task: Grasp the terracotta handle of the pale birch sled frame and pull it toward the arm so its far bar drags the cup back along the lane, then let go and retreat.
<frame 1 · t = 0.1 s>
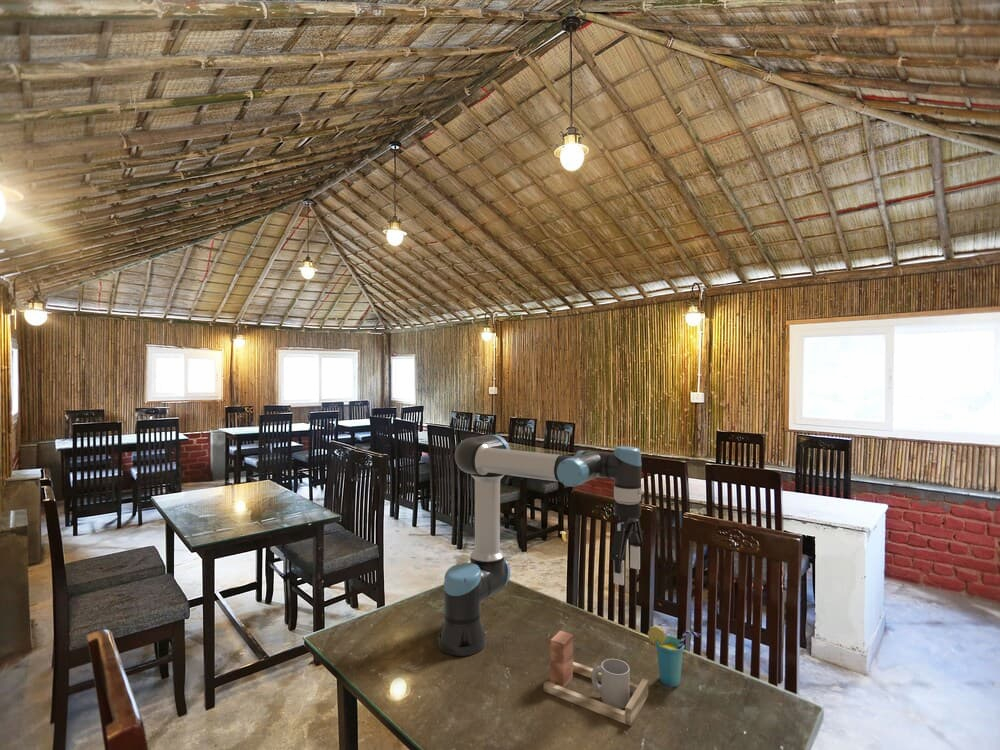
hand: (627, 575, 140), 28 cm above the table, fingers open, 13 cm apart
cup 2: (673, 682, 136), on the table
sled: (595, 670, 131), point 6 cm above the table, slide at 0.0 cm
cup: (610, 700, 128), resting in sled
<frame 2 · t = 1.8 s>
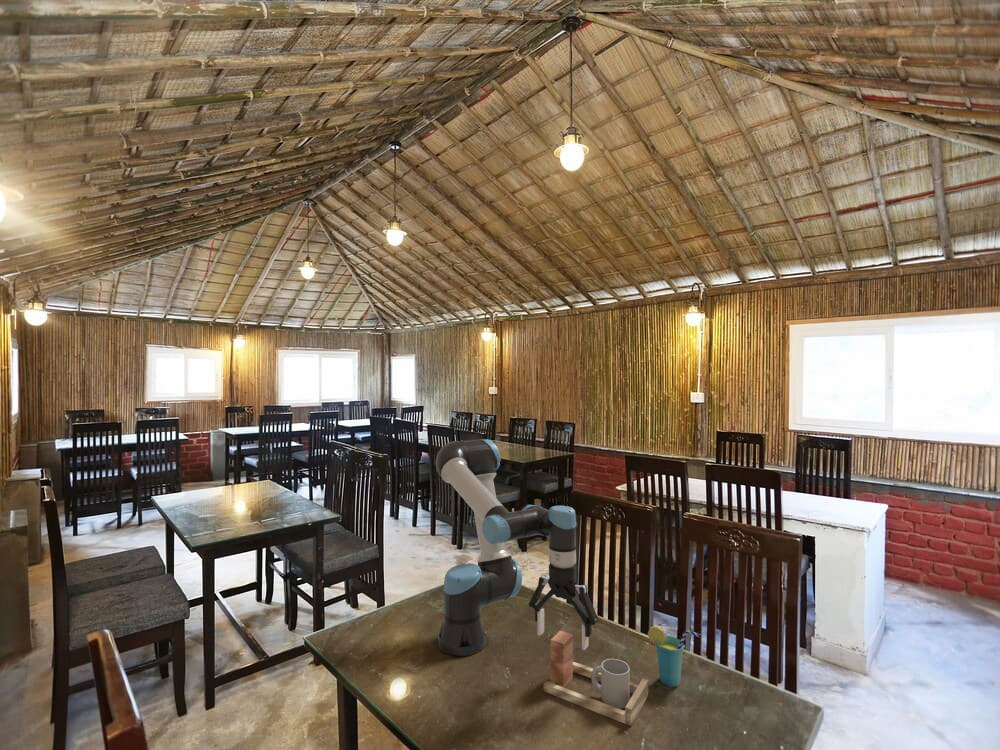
hand: (562, 640, 136), 11 cm above the table, fingers open, 13 cm apart
nothing on the table moved.
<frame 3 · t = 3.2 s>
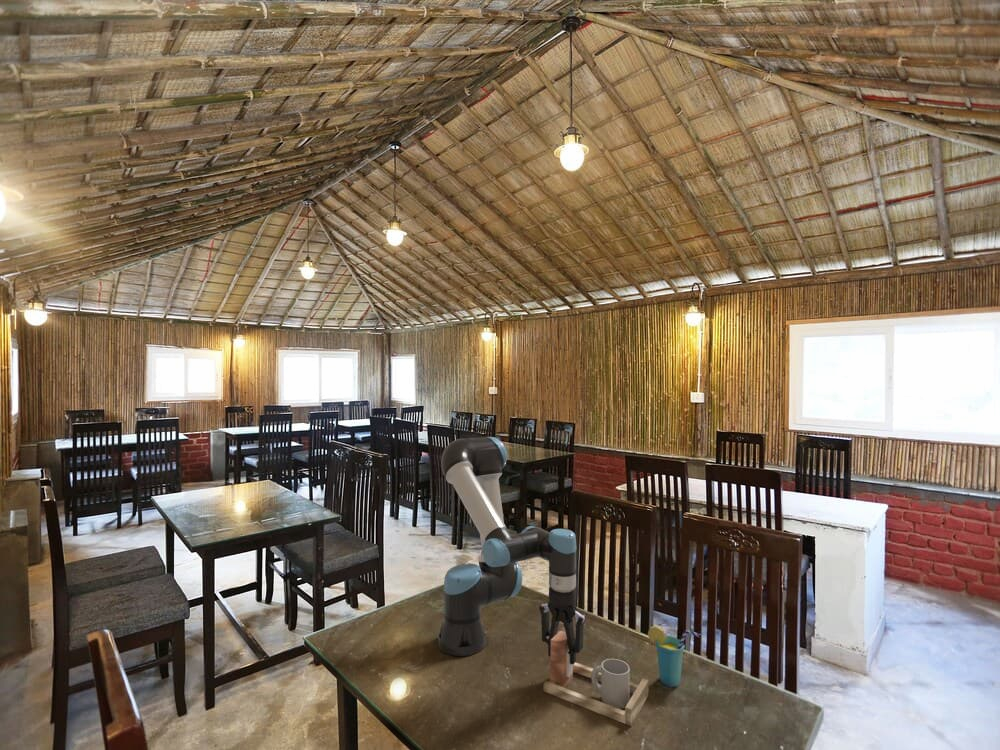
hand: (561, 671, 136), 3 cm above the table, fingers closed on sled, 4 cm apart
sled: (595, 670, 131), point 6 cm above the table, slide at 0.0 cm, touching gripper
everything else where it was.
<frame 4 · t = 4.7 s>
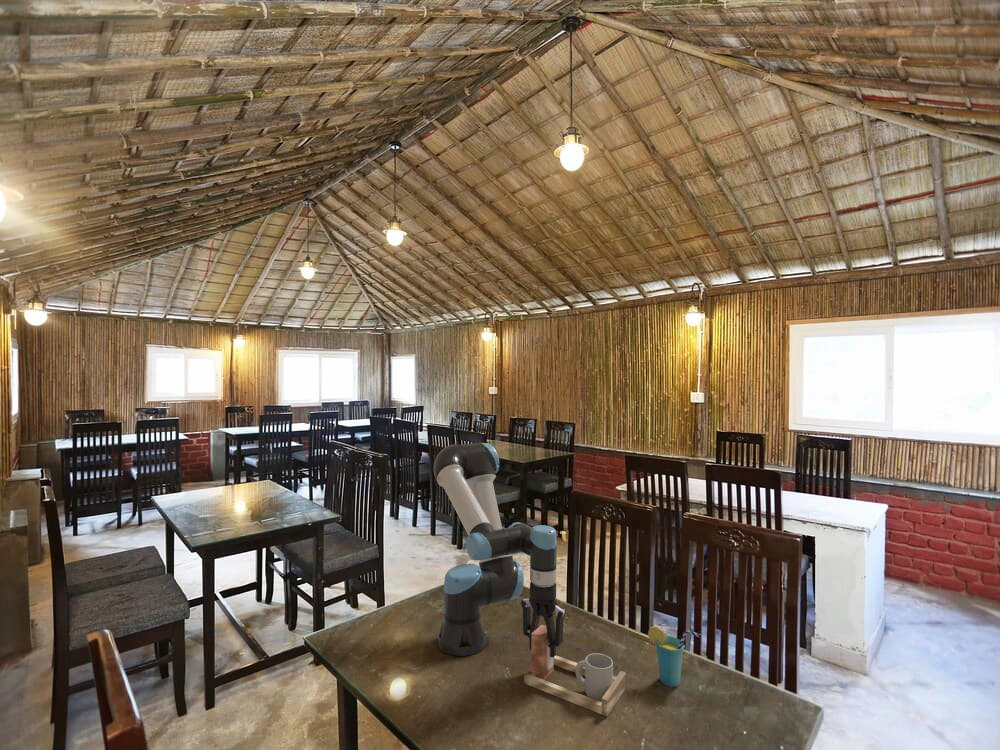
hand: (542, 664, 139), 3 cm above the table, fingers closed on sled, 4 cm apart
sled: (574, 663, 134), point 6 cm above the table, slide at 6.1 cm, touching cup, gripper
cup: (593, 693, 131), resting in sled
everything else where it was.
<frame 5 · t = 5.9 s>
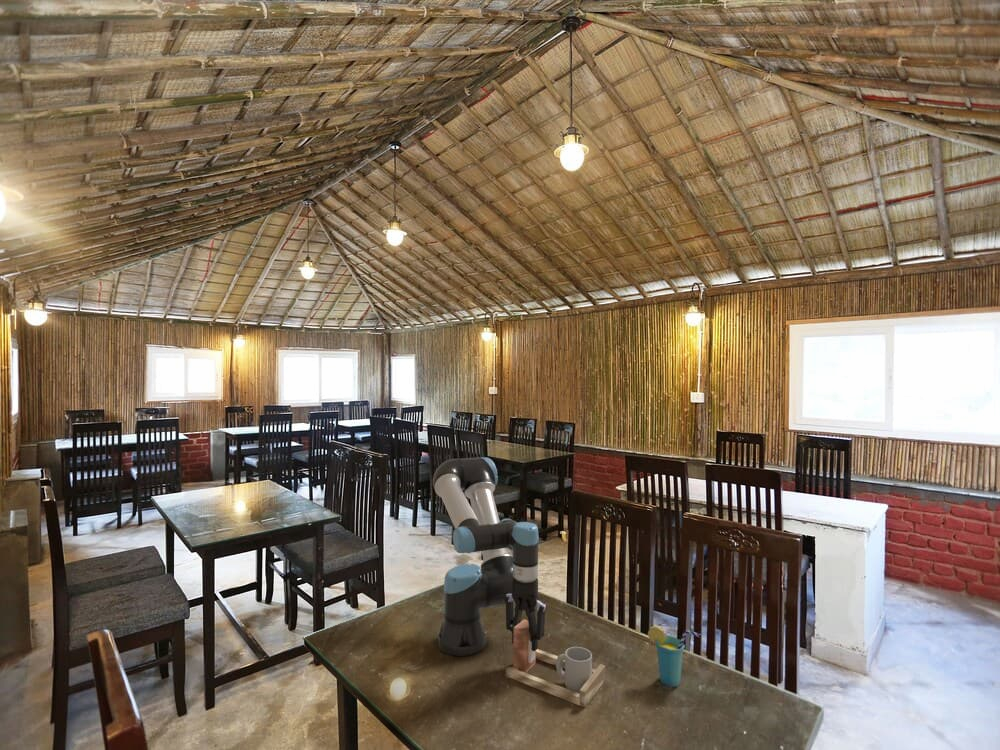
hand: (524, 657, 143), 3 cm above the table, fingers closed on sled, 4 cm apart
sled: (555, 656, 137), point 6 cm above the table, slide at 12.0 cm, touching gripper
cup: (573, 686, 134), resting in sled
everything else where it was.
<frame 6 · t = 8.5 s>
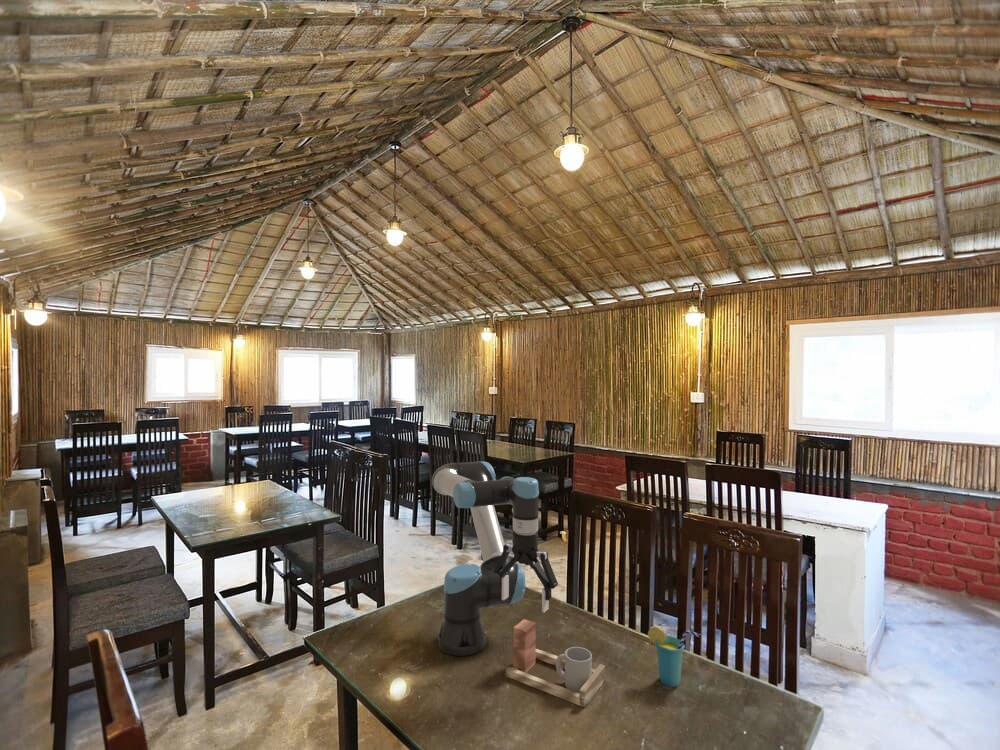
hand: (524, 604, 143), 18 cm above the table, fingers open, 13 cm apart
sled: (555, 656, 137), point 6 cm above the table, slide at 12.0 cm
everything else where it was.
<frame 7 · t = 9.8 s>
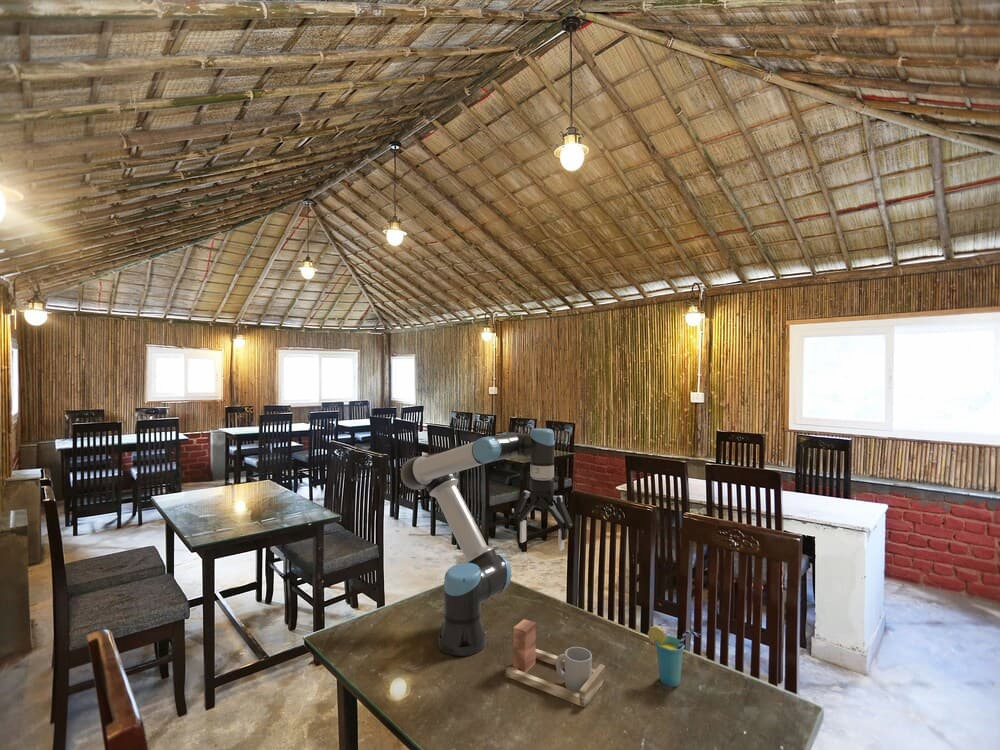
hand: (541, 545, 153), 32 cm above the table, fingers open, 13 cm apart
nothing on the table moved.
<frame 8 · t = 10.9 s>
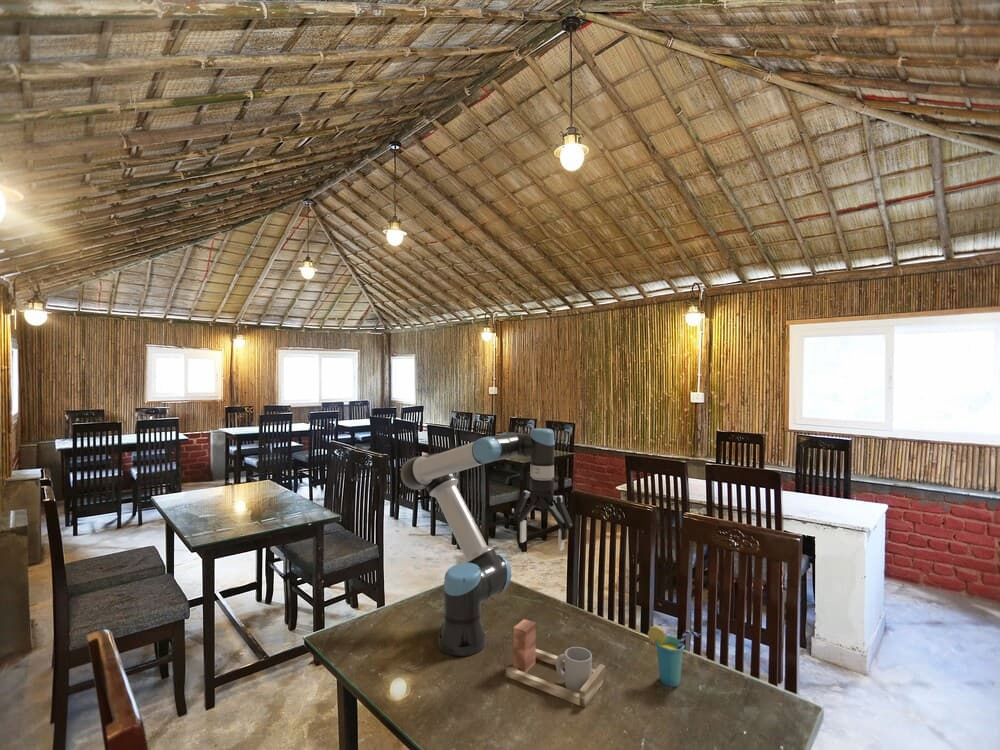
hand: (541, 545, 154), 32 cm above the table, fingers open, 13 cm apart
nothing on the table moved.
at the end: sled slide at 12.0 cm; cup inside the target area (0.5 cm from its centre), resting in sled; cup tilted 0° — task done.
